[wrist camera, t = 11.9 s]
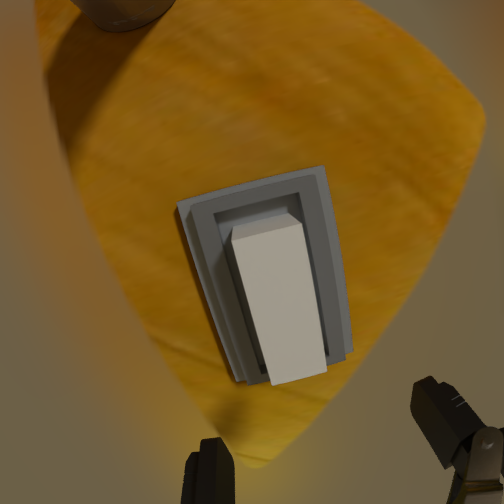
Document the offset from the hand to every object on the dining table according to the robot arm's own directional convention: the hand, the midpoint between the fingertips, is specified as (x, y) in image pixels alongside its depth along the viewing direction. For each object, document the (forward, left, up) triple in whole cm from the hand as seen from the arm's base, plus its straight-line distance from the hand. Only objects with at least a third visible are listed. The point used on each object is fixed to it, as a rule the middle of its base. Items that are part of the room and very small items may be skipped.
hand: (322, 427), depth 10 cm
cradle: (0, 0, -16) cm, 16 cm away
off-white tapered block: (0, 0, -15) cm, 15 cm away
